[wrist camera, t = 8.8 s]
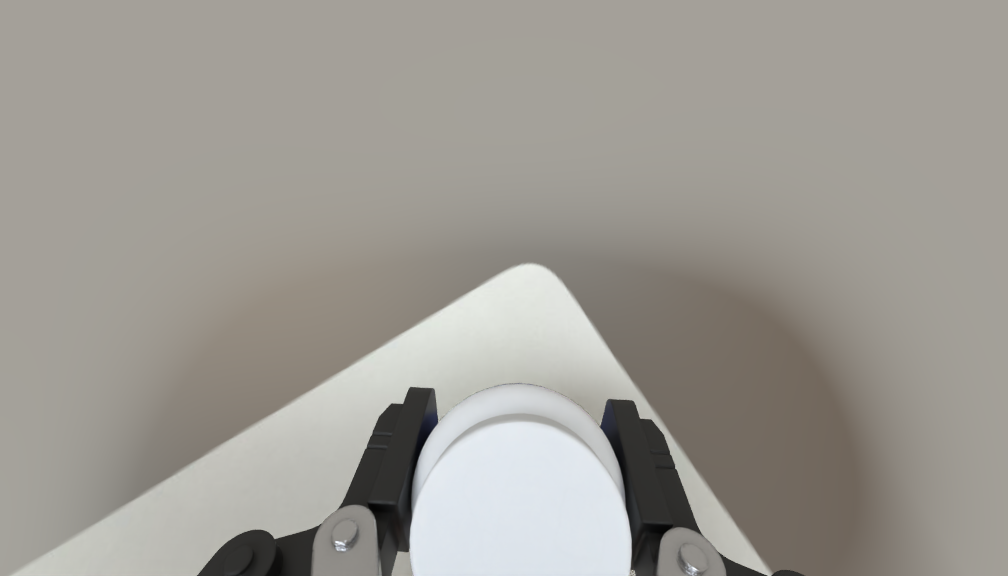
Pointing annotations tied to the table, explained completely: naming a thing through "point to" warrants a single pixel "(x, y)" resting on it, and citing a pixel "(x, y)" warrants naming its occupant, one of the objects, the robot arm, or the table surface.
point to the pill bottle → (518, 491)
